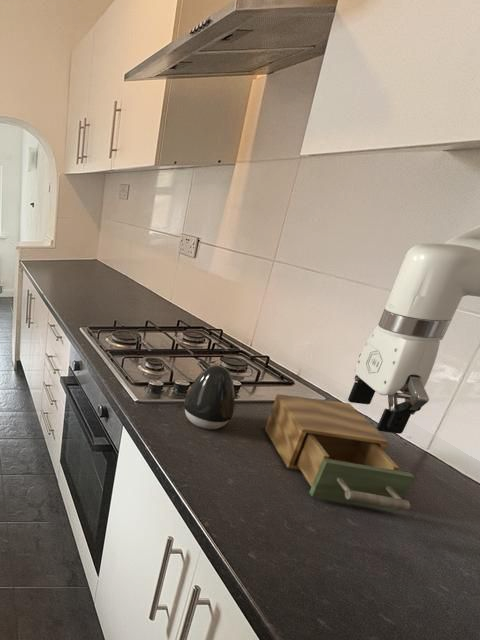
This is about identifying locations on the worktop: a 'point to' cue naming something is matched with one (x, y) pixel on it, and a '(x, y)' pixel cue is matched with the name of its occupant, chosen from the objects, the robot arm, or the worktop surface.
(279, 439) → the cabinet
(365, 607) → the worktop surface
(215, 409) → the dark grey egg ornament
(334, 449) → the drawer
